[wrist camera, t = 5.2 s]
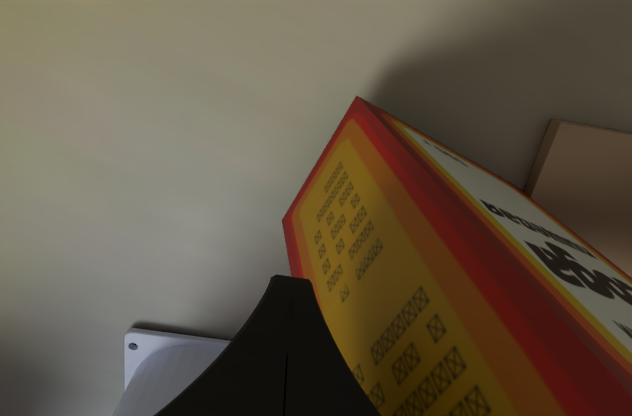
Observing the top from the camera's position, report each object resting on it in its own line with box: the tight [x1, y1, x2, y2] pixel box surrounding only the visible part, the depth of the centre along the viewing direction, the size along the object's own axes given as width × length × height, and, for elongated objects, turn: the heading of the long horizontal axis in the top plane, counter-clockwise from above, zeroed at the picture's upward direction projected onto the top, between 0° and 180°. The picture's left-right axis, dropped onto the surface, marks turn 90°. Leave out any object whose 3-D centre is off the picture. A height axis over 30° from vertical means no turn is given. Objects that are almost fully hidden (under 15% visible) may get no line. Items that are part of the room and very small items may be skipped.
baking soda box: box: [282, 96, 632, 416], centre depth 14 cm, size 10×6×16 cm
